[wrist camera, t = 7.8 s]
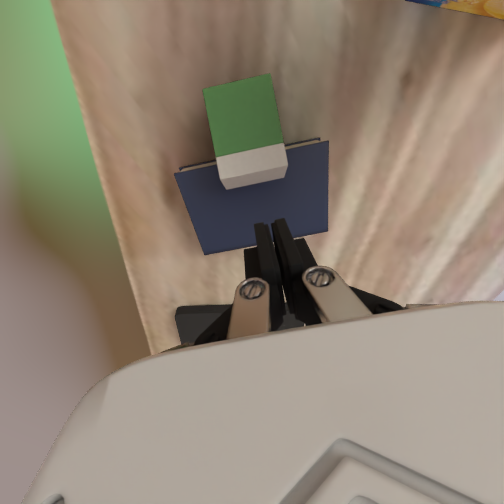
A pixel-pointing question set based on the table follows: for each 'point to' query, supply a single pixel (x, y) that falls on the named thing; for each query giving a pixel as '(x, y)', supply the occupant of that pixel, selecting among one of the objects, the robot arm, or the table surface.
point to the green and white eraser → (246, 131)
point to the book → (258, 199)
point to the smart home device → (201, 317)
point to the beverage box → (470, 6)
